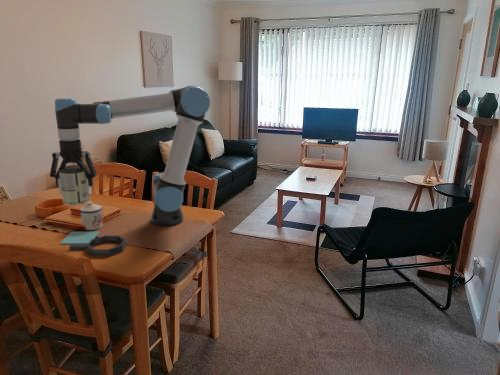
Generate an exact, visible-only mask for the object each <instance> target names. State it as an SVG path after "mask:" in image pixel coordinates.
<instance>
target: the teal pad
mask: <svg viewBox="0 0 500 375" xmlns="http://www.w3.org/2000/svg"><path fill="white" fill-rule="evenodd" d="M100 233H101V231H71V232H69V234H68V235H66V237H65V238H63V239H62V240H61V242H59V245H71V244H88V243H89V242H90V241H91V240H92V239H95V237H96V236H97V237H98V236H99V235H100ZM97 237H96V238H97Z"/></svg>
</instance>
